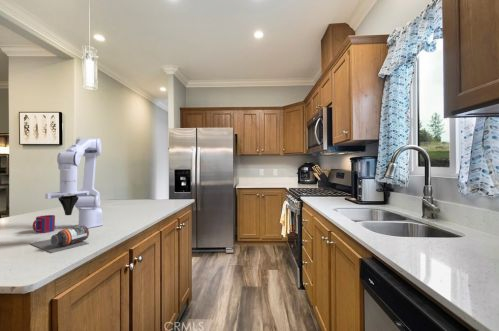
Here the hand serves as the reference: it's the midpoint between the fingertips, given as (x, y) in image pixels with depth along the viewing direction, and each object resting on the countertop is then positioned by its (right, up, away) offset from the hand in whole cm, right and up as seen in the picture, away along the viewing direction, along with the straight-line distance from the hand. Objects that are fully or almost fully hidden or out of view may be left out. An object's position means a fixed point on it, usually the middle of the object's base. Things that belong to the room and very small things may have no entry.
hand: (68, 214), depth 98 cm
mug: (-21, -10, +12) cm, 26 cm away
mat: (0, -10, -5) cm, 11 cm away
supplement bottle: (+7, -7, 0) cm, 10 cm away
